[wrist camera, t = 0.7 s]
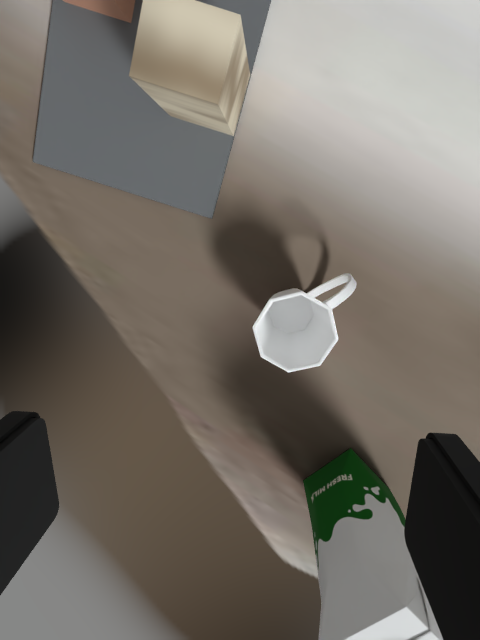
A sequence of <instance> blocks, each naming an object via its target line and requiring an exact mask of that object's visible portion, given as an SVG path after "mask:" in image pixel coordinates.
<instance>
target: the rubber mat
mask: <svg viewBox="0 0 480 640" xmlns="http://www.w3.org/2000/svg"><path fill="white" fill-rule="evenodd" d="M196 1H199V2H202V3H205V4H208V5H212V6H215V7H218V8H221V9H224V10H227V11H230V12H234V13H237V14H240V15H241V20H242V27H243V33H244V39H245V45H246V52H247V58H248V64H249V70H250V77H251V73H252V69H253V66H254V62H255V58H256V55H257V51H258V47H259V44H260V40H261V36H262V32H263V29H264V25H265V21H266V18H267V14H268V10H269V7H270V3H271V0H196ZM142 3H143V0H135V5H134V10H133V16H132V21H131V23H129V22H126V21H123V20H120V19H116V18H113V17H110V16H107V15H104V14H101V13H98V12H94V11H91V10H88V9H85V8H82V7H79V6H76V5H72V4H69V3H66V2H64V1H63V0H53V3H52V12H51V20H50V28H49V36H48V44H47V52H46V60H45V68H44V76H43V84H42V92H41V100H40V108H39V116H38V124H37V132H36V140H35V148H34V156H33V162H35V163H38V164H41V165H44V166H47V167H50V168H54V169H57V170H60V171H63V172H66V173H69V174H73V175H76V176H79V177H82V178H85V179H88V180H91V181H95V182H98V183H101V184H104V185H107V186H110V187H113V188H117V189H120V190H123V191H126V192H129V193H132V194H136V195H139V196H142V197H145V198H148V199H151V200H154V201H158V202H161V203H164V204H167V205H170V206H173V207H176V208H180V209H183V210H186V211H189V212H192V213H195V214H198V215H202V216H205V217H208V218H211V219H212V217H213V214H214V210H215V206H216V202H217V199H218V195H219V191H220V188H221V184H222V180H223V177H224V173H225V169H226V165H227V162H228V158H229V154H230V151H231V147H232V143H233V140H234V136H235V133H234V136H231V135H228V134H225V133H222V132H219V131H216V130H213V129H209V128H206V127H203V126H200V125H197V124H194V123H191V122H187V121H184V120H181V119H178V118H175V117H172V116H170V115H169V114H168V113H167V112H166V111H165V110H164V109H163V108H162V107H160V106H159V105H158V104H157V103H156V102H155V101H154V100H153V99H152V98H151V97H150V96H149V95H148V94H147V93H146V92H145V91H144V90H143V89H142V88H141V87H140V86H139V85H138V84H137V83H136V82H135V81H134V80H133V79H132V78H131V77H130V76H129V73H130V67H131V62H132V57H133V51H134V46H135V40H136V35H137V30H138V24H139V19H140V13H141V8H142ZM249 80H250V78H249ZM248 84H249V82H248ZM247 88H248V85H247ZM246 92H247V89H246ZM245 95H246V93H245ZM244 99H245V96H244ZM243 103H244V100H243ZM242 106H243V104H242ZM241 110H242V107H241ZM240 114H241V111H240ZM239 117H240V115H239ZM238 121H239V119H238ZM237 125H238V122H237ZM236 129H237V126H236ZM235 132H236V130H235Z"/></svg>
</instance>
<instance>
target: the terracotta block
mask: <svg viewBox="0 0 480 640" xmlns="http://www.w3.org/2000/svg"><path fill="white" fill-rule="evenodd" d="M63 1H64V2H66V3H69V4H72V5H76V6H79V7H82V8H85V9H88V10H91V11H94V12H98V13H101V14H104V15H107V16H110V17H113V18H116V19H120V20H123V21H126V22H129V23H131V21H132V16H133V10H134V5H135V0H63Z"/></svg>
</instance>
